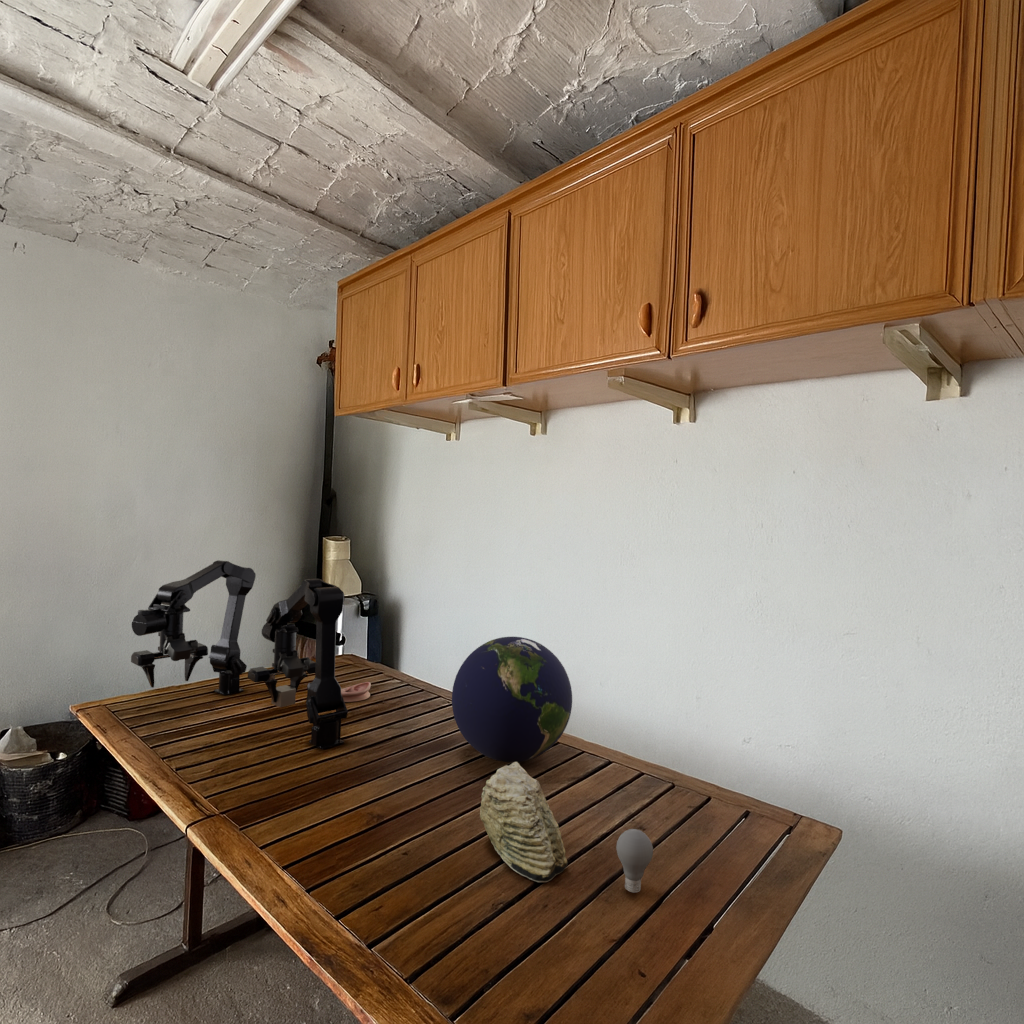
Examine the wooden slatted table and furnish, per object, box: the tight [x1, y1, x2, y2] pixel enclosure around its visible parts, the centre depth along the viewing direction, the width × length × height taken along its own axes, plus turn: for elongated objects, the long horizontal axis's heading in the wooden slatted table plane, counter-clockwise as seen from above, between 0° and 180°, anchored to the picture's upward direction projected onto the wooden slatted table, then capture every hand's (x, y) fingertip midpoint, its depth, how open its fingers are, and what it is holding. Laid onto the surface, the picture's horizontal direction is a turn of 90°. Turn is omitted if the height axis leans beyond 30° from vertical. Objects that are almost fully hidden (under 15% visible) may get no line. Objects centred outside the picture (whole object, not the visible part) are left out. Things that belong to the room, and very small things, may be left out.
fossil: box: [479, 762, 569, 883], centre depth 114 cm, size 9×18×15 cm, turn 46°
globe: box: [451, 636, 573, 763], centre depth 158 cm, size 30×30×30 cm
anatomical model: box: [341, 681, 372, 703], centre depth 200 cm, size 13×4×12 cm
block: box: [270, 684, 297, 708], centre depth 182 cm, size 5×5×4 cm
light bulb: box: [615, 828, 654, 894], centre depth 106 cm, size 6×6×10 cm
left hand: (169, 684), depth 180 cm, fingers open, 9 cm apart
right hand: (283, 700), depth 182 cm, fingers closed on block, 5 cm apart
